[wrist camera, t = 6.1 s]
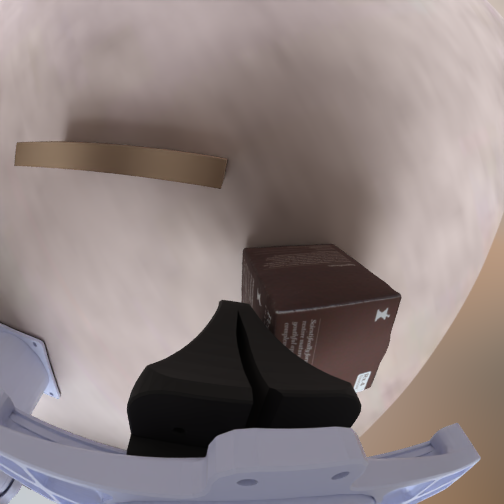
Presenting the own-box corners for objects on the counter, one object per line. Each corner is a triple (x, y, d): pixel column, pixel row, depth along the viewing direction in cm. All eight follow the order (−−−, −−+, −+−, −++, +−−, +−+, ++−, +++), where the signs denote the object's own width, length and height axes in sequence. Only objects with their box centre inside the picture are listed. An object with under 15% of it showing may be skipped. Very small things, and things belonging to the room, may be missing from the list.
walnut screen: (61, 159, 14) (14, 165, 10) (64, 141, 14) (16, 142, 9) (223, 178, 16) (220, 189, 11) (227, 158, 15) (226, 159, 11)
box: (241, 244, 17) (274, 309, 10) (334, 241, 18) (405, 292, 11) (240, 331, 19) (265, 415, 12) (323, 322, 20) (372, 390, 13)
